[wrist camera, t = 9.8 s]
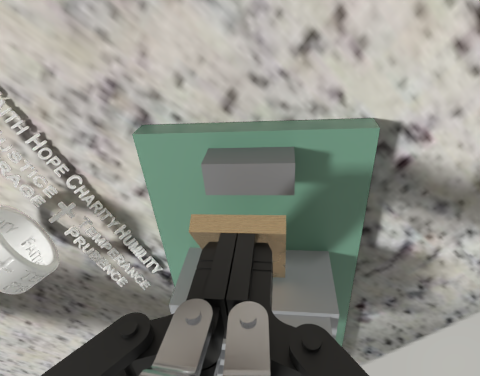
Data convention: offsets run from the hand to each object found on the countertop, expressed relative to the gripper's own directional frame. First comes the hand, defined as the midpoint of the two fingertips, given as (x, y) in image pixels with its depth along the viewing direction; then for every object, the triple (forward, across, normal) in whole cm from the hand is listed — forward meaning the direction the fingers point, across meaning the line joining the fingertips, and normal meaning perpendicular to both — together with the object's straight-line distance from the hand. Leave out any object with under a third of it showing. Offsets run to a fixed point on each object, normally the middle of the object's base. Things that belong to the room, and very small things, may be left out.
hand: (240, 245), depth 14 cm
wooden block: (+4, 0, +6) cm, 7 cm away
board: (+8, 0, +9) cm, 12 cm away
